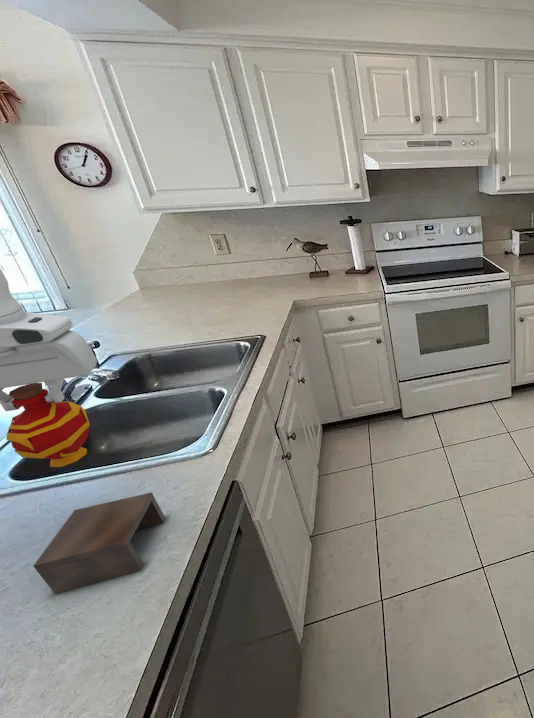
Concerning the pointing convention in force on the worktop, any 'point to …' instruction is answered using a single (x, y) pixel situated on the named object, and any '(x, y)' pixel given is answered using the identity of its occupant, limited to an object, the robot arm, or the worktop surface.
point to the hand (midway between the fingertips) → (36, 404)
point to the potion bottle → (47, 427)
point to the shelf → (97, 543)
